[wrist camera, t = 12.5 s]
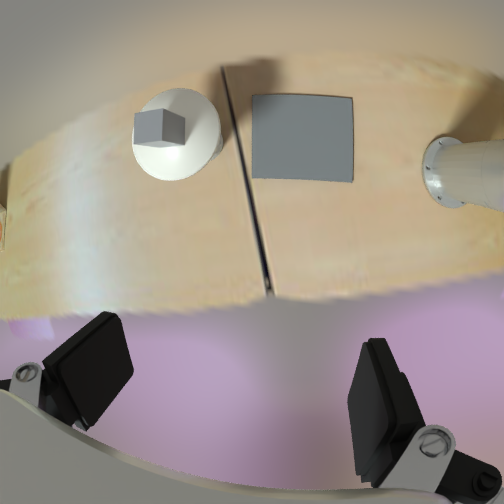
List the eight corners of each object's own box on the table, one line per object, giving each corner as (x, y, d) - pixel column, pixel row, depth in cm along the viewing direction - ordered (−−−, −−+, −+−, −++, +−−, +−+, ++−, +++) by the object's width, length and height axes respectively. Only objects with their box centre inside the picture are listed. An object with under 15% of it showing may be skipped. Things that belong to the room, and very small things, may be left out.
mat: (351, 99, 37) (351, 98, 36) (351, 182, 41) (352, 182, 40) (252, 95, 39) (252, 95, 39) (252, 178, 43) (251, 178, 42)
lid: (222, 85, 28) (204, 65, 22) (220, 178, 32) (201, 180, 25) (138, 98, 30) (107, 87, 24) (135, 182, 34) (104, 186, 27)
